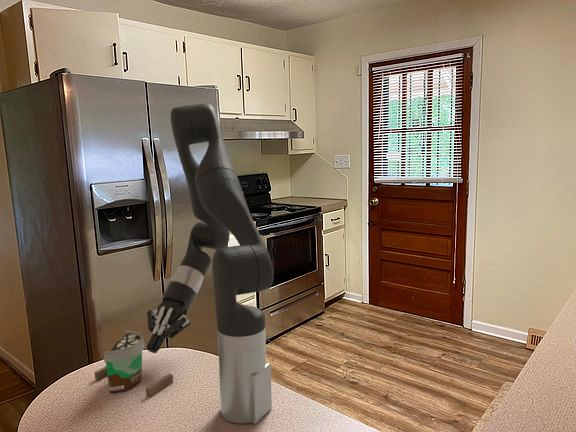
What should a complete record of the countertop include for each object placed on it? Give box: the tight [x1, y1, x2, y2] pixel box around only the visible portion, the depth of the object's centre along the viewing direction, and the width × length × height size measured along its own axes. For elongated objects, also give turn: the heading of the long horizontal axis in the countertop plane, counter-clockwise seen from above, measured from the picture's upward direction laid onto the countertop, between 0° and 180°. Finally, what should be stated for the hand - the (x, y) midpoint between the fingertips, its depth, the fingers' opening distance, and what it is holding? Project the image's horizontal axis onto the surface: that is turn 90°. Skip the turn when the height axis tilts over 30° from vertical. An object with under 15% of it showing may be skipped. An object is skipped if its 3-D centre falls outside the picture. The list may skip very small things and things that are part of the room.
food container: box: [103, 330, 146, 395], centre depth 98 cm, size 12×6×10 cm, turn 179°
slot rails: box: [94, 365, 174, 399], centre depth 99 cm, size 17×7×2 cm, turn 62°
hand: (151, 351), depth 104 cm, fingers closed
